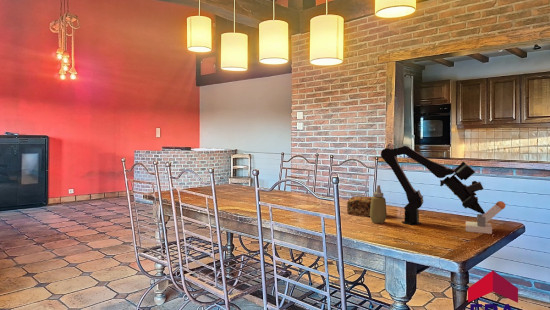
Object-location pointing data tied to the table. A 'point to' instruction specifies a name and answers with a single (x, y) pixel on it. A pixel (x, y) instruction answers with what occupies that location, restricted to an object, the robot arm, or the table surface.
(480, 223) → the block
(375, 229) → the table surface
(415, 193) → the robot arm
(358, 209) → the bread
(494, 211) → the lever
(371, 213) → the squeeze bottle
